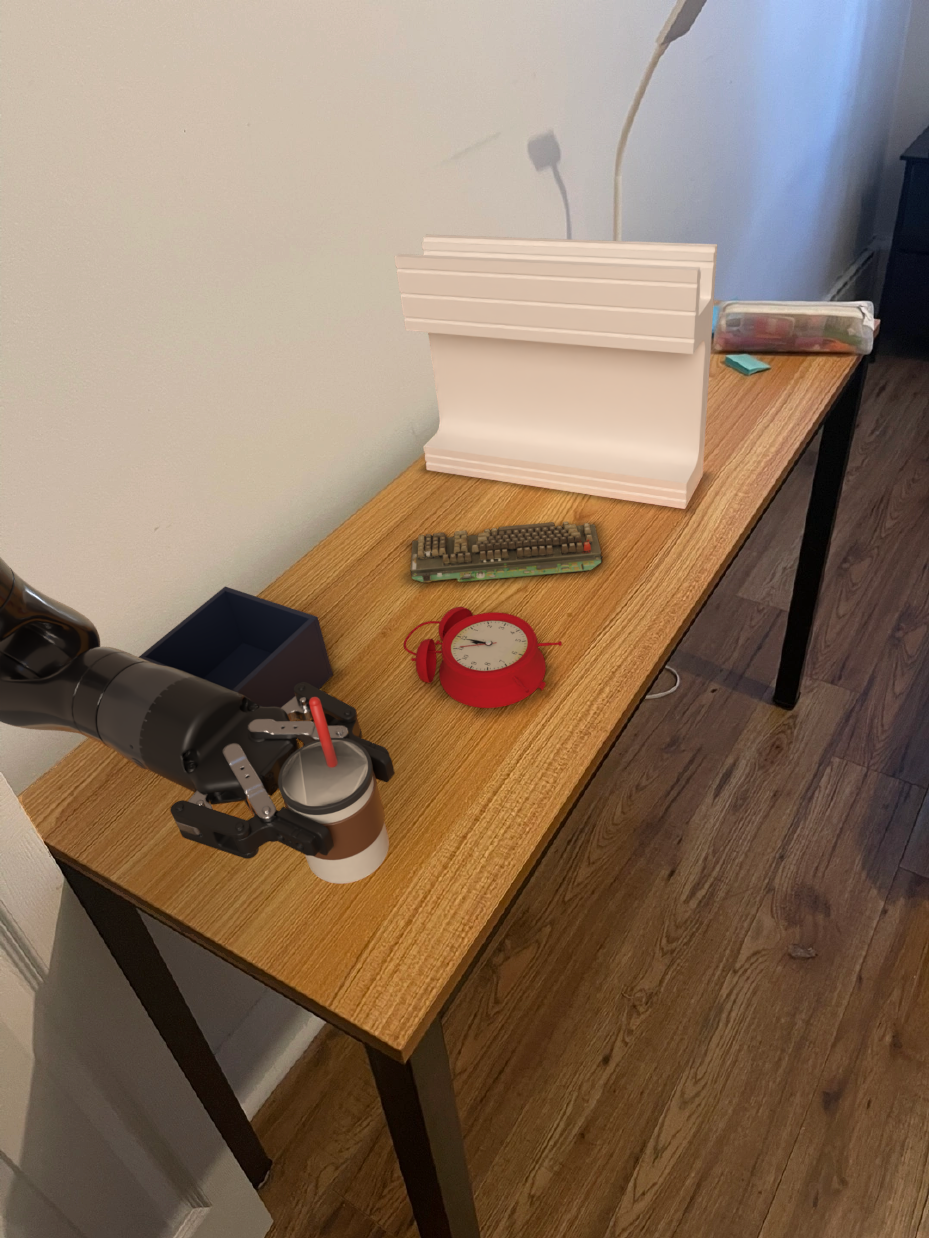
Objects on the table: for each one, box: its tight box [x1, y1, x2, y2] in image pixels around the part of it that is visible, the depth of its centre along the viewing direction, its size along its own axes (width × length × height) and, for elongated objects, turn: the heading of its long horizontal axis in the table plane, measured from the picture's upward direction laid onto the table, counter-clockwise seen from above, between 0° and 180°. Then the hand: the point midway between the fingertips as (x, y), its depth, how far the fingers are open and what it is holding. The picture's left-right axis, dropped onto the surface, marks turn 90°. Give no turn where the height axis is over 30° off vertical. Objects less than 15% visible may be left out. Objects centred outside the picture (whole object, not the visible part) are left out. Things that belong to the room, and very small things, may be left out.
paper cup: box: [278, 697, 390, 885], centre depth 59 cm, size 6×6×14 cm
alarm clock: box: [403, 606, 563, 709], centre depth 89 cm, size 10×6×15 cm
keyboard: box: [409, 521, 603, 584], centre depth 104 cm, size 22×9×2 cm, turn 90°
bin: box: [138, 586, 334, 708], centre depth 89 cm, size 12×12×8 cm
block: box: [394, 234, 718, 510], centre depth 109 cm, size 35×8×28 cm, turn 64°
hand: (360, 804), depth 59 cm, fingers closed on paper cup, 6 cm apart
